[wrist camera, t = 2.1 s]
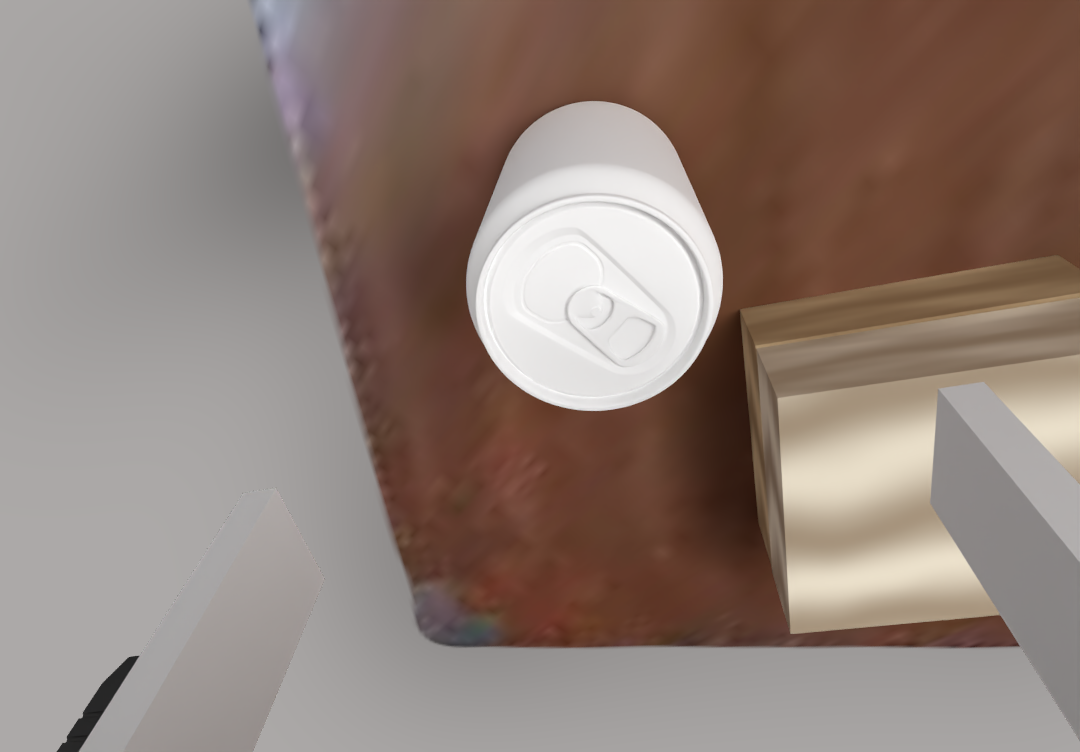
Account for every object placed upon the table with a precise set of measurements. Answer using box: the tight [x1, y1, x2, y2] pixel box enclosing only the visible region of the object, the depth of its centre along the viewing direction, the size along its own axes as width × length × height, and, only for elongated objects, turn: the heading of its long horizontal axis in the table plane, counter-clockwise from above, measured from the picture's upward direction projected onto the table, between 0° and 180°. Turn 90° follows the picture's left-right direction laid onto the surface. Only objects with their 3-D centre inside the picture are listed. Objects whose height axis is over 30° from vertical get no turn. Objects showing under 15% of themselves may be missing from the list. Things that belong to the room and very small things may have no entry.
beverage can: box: [466, 101, 723, 411], centre depth 26 cm, size 8×8×12 cm
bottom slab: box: [740, 255, 1080, 566], centre depth 35 cm, size 14×14×4 cm
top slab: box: [756, 298, 1080, 634], centre depth 31 cm, size 14×14×4 cm
